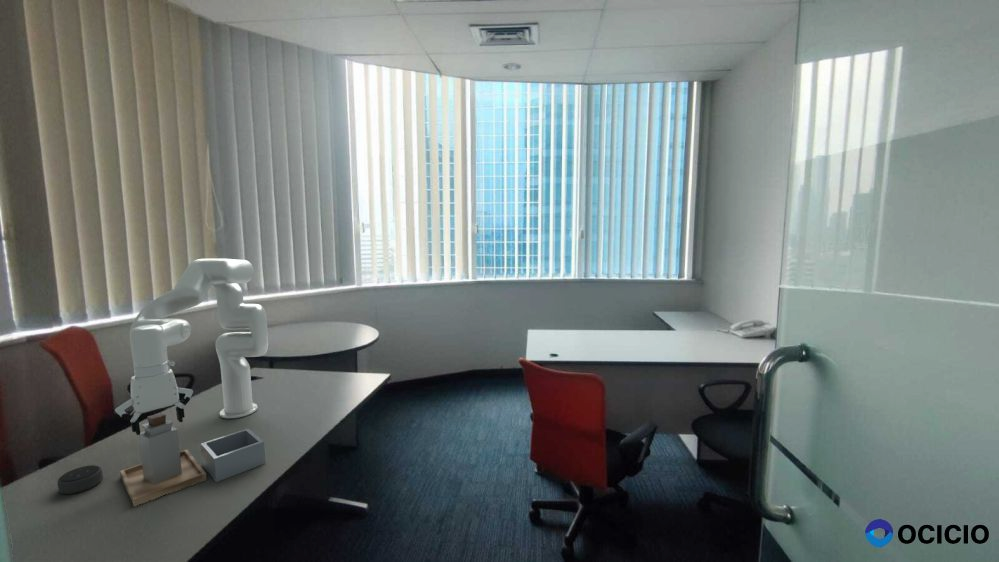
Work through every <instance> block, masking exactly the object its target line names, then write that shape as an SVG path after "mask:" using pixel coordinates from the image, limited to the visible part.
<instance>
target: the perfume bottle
mask: <svg viewBox="0 0 999 562" xmlns="http://www.w3.org/2000/svg"><path fill="white" fill-rule="evenodd" d="M146 417H147V422H146V423H144V424H141V427H142V429H143V431H140V435H138V441H139V449H140V458H141V464H142V468H143V477H144V478H145V479H146V480H147V481H149V482H150V483H152V484H153V485H156V484H158V483H160V482H163V481H165V480H167V479H170V478H172V477H174V476H177V475H179V474H181V473H182V469H181V459H180V451H181V450H180V442H179V441H180V440H179V431H178V428H176V427H174V426H173V421H171V420H170V419H167V415H166V414H164V413H162V412H158V413H155V414H153V415H148V416H146Z"/></svg>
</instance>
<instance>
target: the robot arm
mask: <svg viewBox="0 0 999 562" xmlns="http://www.w3.org/2000/svg"><path fill="white" fill-rule="evenodd" d="M254 270H255V269H254V266H253V265H252V263H251V262H250V261H248V260H247V259H235V258H234V259H233V258H199V259H194V260H192V261H191V262H190V263H189V264H188V266H187V267H186V269H185V270H184V271H183V273H182V275H181V277H180V278H179V279H178V280H177V282H176V284H175V286H174V287H173V288H172V289H171V290H169V291H167V292H165V293H163V294H162V295H160V296H158V297H157V298H154V299H153V300H152V301H150V302H149V303H147V304H146V305H144V307H143V308H142V309H141V310H140V311H139V312H138V314H137V315H136V317H135V318H134V320H133V322H132V323H131V326H130V330H129V336H128V337H129V343H130V350H131V356H132V357H131V359H132V364H133V372H134V373H133V374H134V375H133V376H131V377H130V399H128V400H127V401H125V402H123V403H122V404H120V405H119V406H117V407H116V408H115V409H114V411H115V412H116V414H117V415H119V417H120V418H121V419H123V420H125V421H129V422H130V424H131V432H132V433H135V434H136V436H139V435H140V432H141V427H140V421H139V420H138V418H139V417H140V416H141V415H142V414H145V413H149V412H152V411H157V410H159V409H164V408H167V407H171V406H173V405H174V406H175V412H176V419H177V421H178V423H183V421H184V419H183V418H185V410H184V409H185V408H186V405H187V404H188V403H189V402H190V400H191V397H192V395H193V393H194V390H193V389H192V388H185V387H179V386H178V384H177V381H176V377H175V373H174V372H173V371H174V370H172V367H173V366H176V361H175V360H169V356H168V347H171V346H175V345H179V344H182V343H183V342H186V340H187V339H189V337H190V336H191V333H192V326H191V324H190V322H189V321H187V320H186V319H184V318H180V317H179V318H175V317H173V318H170V316H171V315H173V314H176V313H180V312H182V311H185V310H188V309H192V308H194V307H196V306H198V305H200V304H202V302H203V301H204V299H205V297H206V295H207V294H208V291H209V289H210V288H212V289H213V291H214V293H215V296H216V297H215V298H216V307H217V319H218V320H217V321H218V324H219V326H220V327H221V328H222V329H224V330H249V331H237V332H236V331H233V332H224V333H222V334H220V335H219V336H218V337H217V338H216V340H215V350H216V354H217V357H218V361H219V365H220V375H221V376H220V377H221V378H220V379H221V387H222V388H221V389H222V399H223V408H222V409H221V410H220V411H219V417H221V418H222V419H228V420H229V419H239V418H242V417H246V416H250V415H252V414H254V412H256V411H257V410H258V404H257V403H255V402H253V392H252V380H251V379H252V378H251V366H250V364H249V362H248V360H247V359H246V358H254V357H255V358H256V357H262V356H264V355H265V354H266V353H267V351H268V348H269V335H268V334H269V333H268V319H267V312H266V309H265V308H264V307H263V305H261V304H260V303H259V304H258V303H245V302H244V295H243V294H244V293H243V290H242V288H241V286H240V284H247V283H249V282H250V281H251V280H252V279H253V277H254V272H255V271H254ZM166 317H169V318H166ZM180 394H185V395H184V396H183V398H182V399H181V400H180ZM130 407H132V409H133V411H132V412H130V413H128V412H126V411H125V410H126V409H128V408H130Z"/></svg>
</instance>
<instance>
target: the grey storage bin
mask: <svg viewBox="0 0 999 562" xmlns="http://www.w3.org/2000/svg"><path fill="white" fill-rule="evenodd" d="M200 449H201V459H202V467H204V469H205V468H206V469H205V470H206V471H207V473H209V475H210V476H211V477H212V478H213V480H214V482H215V483H218V482H220V481H222V480H226V479H228V478H230V477H234V476H236V475H238V474H241V473H243V472H247V471H248V470H251V469H254V468H256V467H259V466H261V465H264V464H266V455H265V454H266V453H265V443H264V441H263V440H262V439H261V438H260V437H259V436H258V435H256V434H255V432H253V431H252V429H251V430H250V428H245V429H242V430H239V431H235V432H232V433H229V434H226V435H223V436H220V437H217V438H213V439H211V440H208V441H205V442H201V443H200Z"/></svg>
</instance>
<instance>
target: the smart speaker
mask: <svg viewBox="0 0 999 562" xmlns="http://www.w3.org/2000/svg"><path fill="white" fill-rule="evenodd" d="M102 480H103V470H102V467H101V466H99V465H94V464H93V465H86V466H85V465H84V466H80V467H77V468H74V469H72V470H69V471H68V472H66V473H64V474H62V475H60V477H59V478H58V479H57V482H56V483H57V489H58V492H59V493H61V494H64V495H71V494H77V492H78V493H81V492H85V491H87V490H89V489H91V488H93V487H95V486H97V485H98V484H99V483H100V482H101V481H102Z"/></svg>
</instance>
